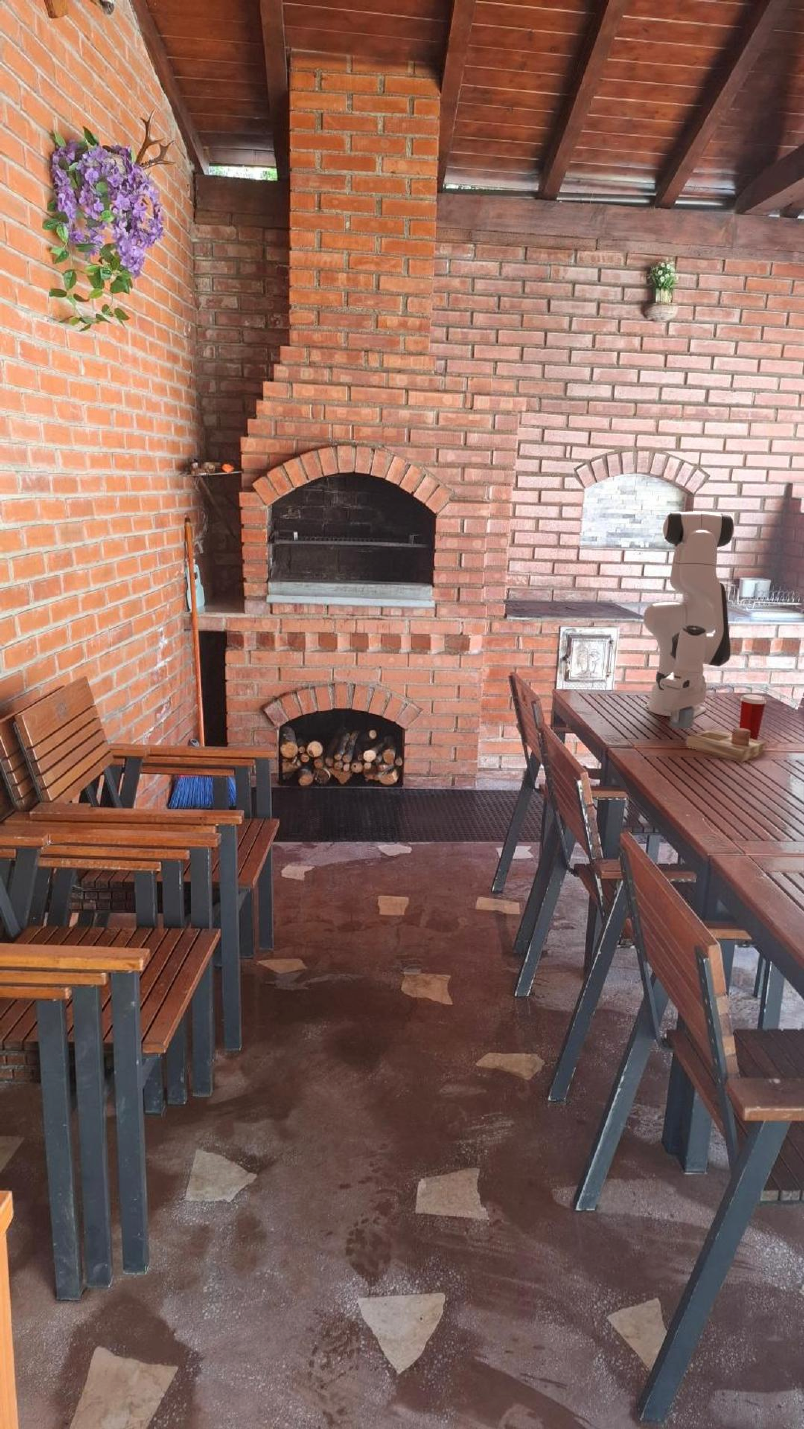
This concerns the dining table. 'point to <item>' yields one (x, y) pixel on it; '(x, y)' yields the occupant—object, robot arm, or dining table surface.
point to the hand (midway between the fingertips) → (681, 720)
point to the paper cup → (752, 714)
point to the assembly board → (727, 744)
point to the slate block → (683, 718)
